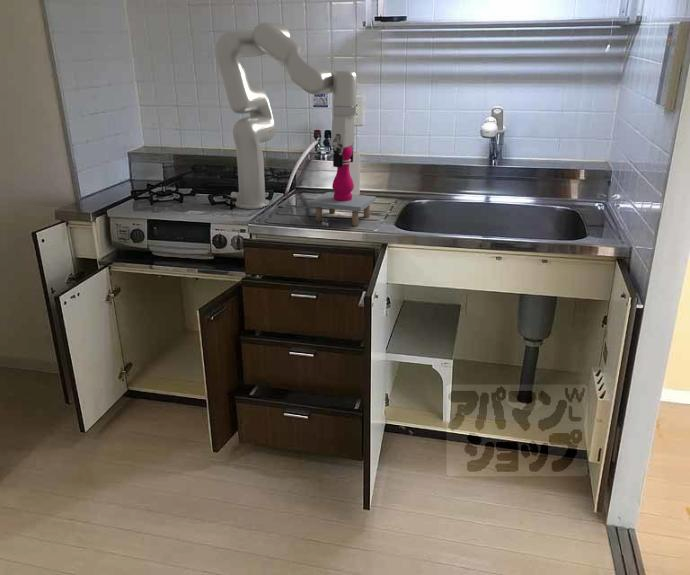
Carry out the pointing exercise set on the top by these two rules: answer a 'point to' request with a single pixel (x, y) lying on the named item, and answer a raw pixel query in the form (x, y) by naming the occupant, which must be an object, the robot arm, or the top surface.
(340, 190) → the pepper mill
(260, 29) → the robot arm
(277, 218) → the top surface
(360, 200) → the stool
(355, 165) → the milk
